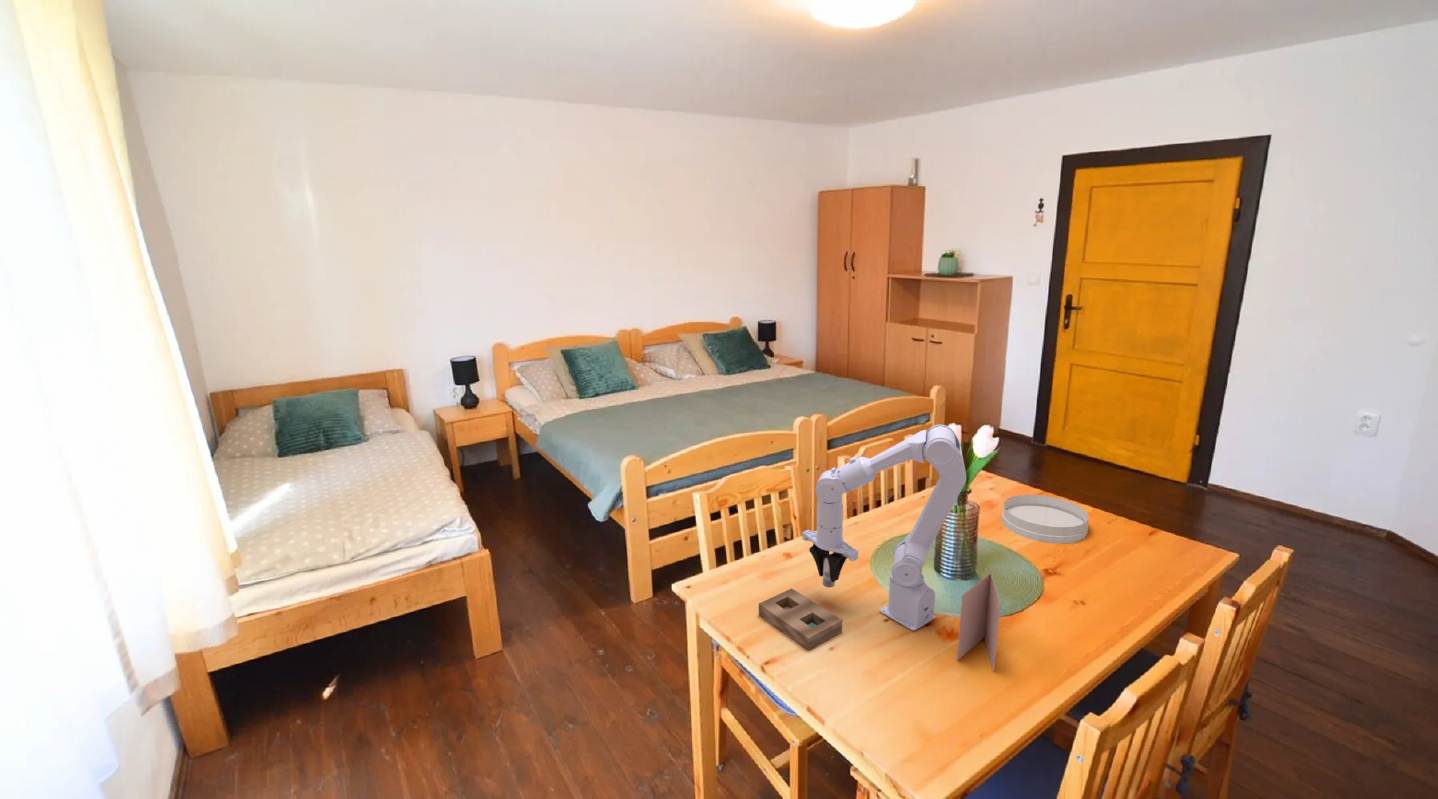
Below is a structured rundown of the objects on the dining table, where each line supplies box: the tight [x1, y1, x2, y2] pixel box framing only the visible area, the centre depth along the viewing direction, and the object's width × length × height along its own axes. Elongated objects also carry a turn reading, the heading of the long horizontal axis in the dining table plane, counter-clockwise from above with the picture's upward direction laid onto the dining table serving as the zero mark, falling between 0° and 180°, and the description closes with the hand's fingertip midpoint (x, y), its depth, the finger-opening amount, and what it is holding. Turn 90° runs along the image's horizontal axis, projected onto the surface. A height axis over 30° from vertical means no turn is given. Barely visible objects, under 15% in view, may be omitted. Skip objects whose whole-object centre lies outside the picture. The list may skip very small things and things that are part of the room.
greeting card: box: [956, 573, 1001, 673], centre depth 128 cm, size 11×7×15 cm, turn 131°
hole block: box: [758, 588, 843, 651], centre depth 141 cm, size 16×10×3 cm, turn 36°
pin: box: [822, 553, 836, 588], centre depth 147 cm, size 3×3×7 cm
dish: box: [1001, 494, 1090, 544], centre depth 183 cm, size 22×22×5 cm
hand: (828, 577), depth 148 cm, fingers closed on pin, 3 cm apart
